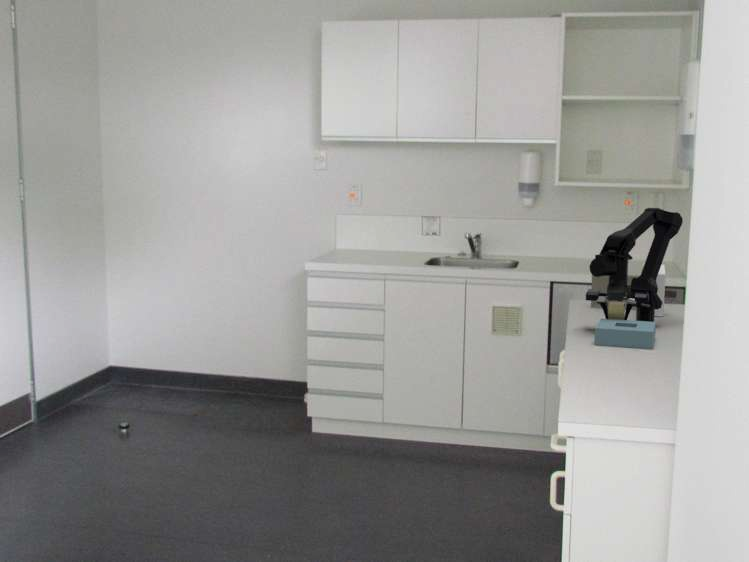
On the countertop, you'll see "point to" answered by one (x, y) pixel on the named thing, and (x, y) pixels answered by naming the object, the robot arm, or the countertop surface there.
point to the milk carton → (660, 288)
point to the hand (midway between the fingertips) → (616, 323)
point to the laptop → (602, 284)
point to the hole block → (625, 333)
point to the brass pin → (616, 310)
